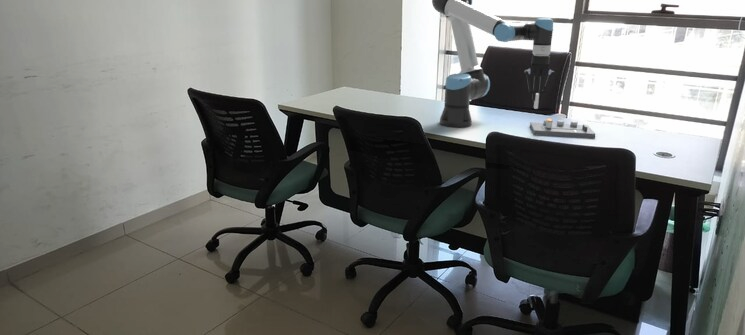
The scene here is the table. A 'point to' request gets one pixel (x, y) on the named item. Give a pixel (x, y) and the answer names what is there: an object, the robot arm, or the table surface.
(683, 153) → the table surface
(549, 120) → the fader
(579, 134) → the console
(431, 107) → the table surface
